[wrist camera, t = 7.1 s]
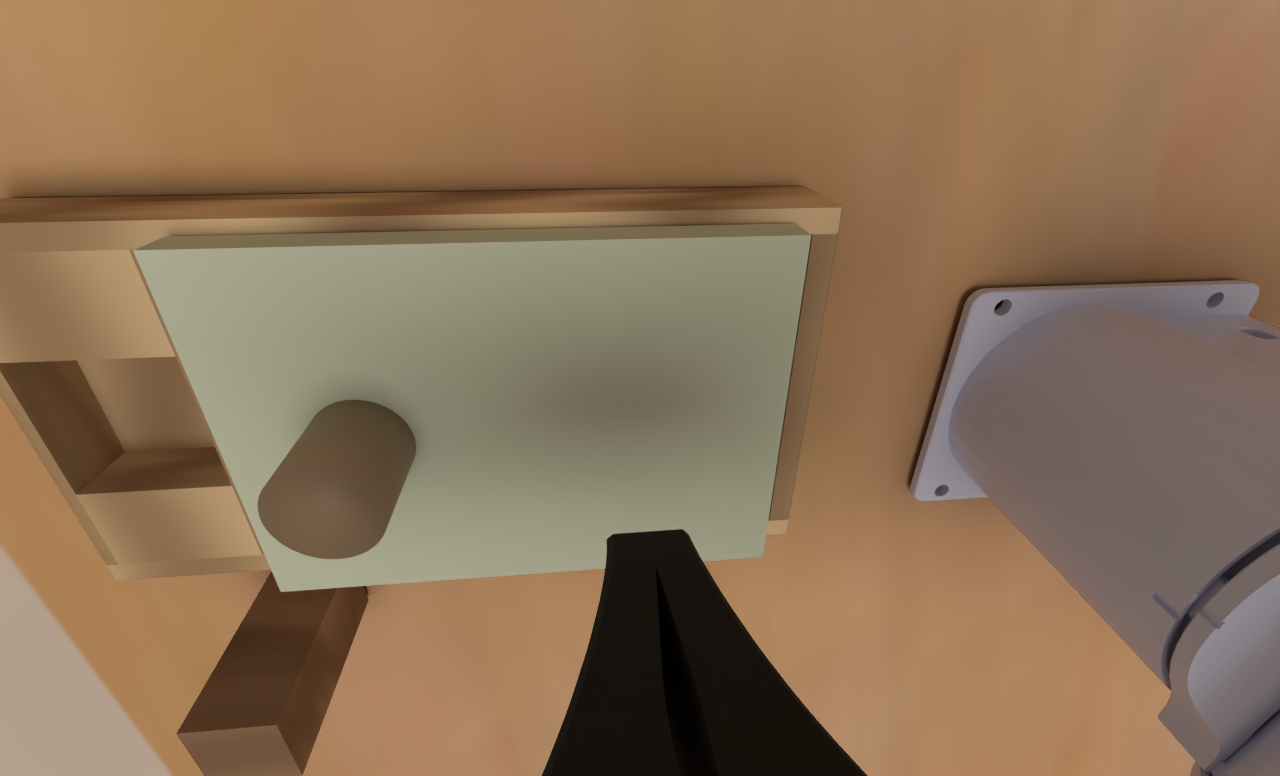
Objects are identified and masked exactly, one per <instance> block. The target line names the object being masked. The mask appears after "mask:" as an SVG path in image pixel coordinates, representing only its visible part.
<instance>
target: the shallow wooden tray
mask: <svg viewBox="0 0 1280 776" xmlns="http://www.w3.org/2000/svg"><path fill="white" fill-rule="evenodd" d="M841 211H842V207H840V206H839V205H837V204H835V203H833V202H831V201H830V200H828V199H826V198H824V197H822V196H821V195H819V194H817V193H815V192H814V191H812V190H810V189H808V188H806V187H805V186H800V187H733V188H665V189H598V190H530V191H463V192H396V193H328V194H261V195H193V196H126V197H58V198H1V199H0V395H1V397H2V398H3V400H4V402H5V403H6V405H7V406H8V408H9V410H10V411H11V413H12V414H13V416H14V418H15V419H16V421H17V422H18V424H19V426H20V427H21V429H22V430H23V432H24V434H25V435H26V437H27V438H28V440H29V442H30V443H31V445H32V446H33V448H34V450H35V451H36V453H37V454H38V456H39V458H40V459H41V461H42V462H43V464H44V466H45V467H46V469H47V470H48V472H49V474H50V475H51V477H52V478H53V480H54V482H55V483H56V485H57V486H58V488H59V490H60V491H61V493H62V494H63V496H64V498H65V499H66V501H67V502H68V504H69V506H70V507H71V509H72V510H73V512H74V514H75V515H76V517H77V518H78V520H79V522H80V523H81V525H82V526H83V528H84V530H85V531H86V533H87V534H88V536H89V538H90V539H91V541H92V542H93V544H94V546H95V547H96V549H97V550H98V552H99V554H100V555H101V557H102V558H103V560H104V562H105V563H106V565H107V566H108V568H109V570H110V571H111V573H112V574H113V576H114V578H115V579H116V581H118V580H132V579H146V578H161V577H175V576H190V575H204V574H218V573H233V572H247V571H262V570H271V568H270V566H269V564H268V561H267V559H266V557H265V554H264V552H263V550H262V548H261V545H260V543H259V541H258V538H257V536H256V534H255V531H254V529H253V527H252V524H251V522H250V520H249V518H248V515H247V513H246V511H245V508H244V506H243V504H242V501H241V499H240V497H239V494H238V492H237V490H236V487H235V485H234V483H233V481H232V478H231V476H230V474H229V471H228V469H227V467H226V464H225V462H224V460H223V457H222V455H221V453H220V450H219V448H218V446H217V444H216V441H215V439H214V437H213V434H212V432H211V430H210V427H209V425H208V423H207V420H206V418H205V416H204V414H203V411H202V409H201V407H200V404H199V402H198V400H197V397H196V395H195V393H194V390H193V388H192V386H191V383H190V381H189V379H188V377H187V374H186V372H185V370H184V367H183V365H182V363H181V360H180V358H179V356H178V353H177V351H176V349H175V347H174V344H173V342H172V340H171V337H170V335H169V333H168V330H167V328H166V326H165V323H164V321H163V319H162V316H161V314H160V312H159V310H158V307H157V305H156V303H155V300H154V298H153V296H152V293H151V291H150V289H149V286H148V284H147V282H146V279H145V277H144V275H143V273H142V270H141V268H140V266H139V263H138V261H137V259H136V256H135V254H134V252H133V250H135V249H137V248H139V247H142V246H144V245H146V244H149V243H151V242H153V241H155V240H158V239H160V238H162V237H164V236H209V235H258V234H306V233H355V232H403V231H452V230H500V229H549V228H597V227H646V226H694V225H743V224H791V223H796V224H797V225H799V226H800V227H801V228H803V229H804V230H805V231H807V232H808V233H809V234H811V241H810V247H809V254H808V261H807V267H806V274H805V281H804V287H803V294H802V300H801V307H800V314H799V320H798V327H797V334H796V340H795V347H794V354H793V360H792V367H791V374H790V380H789V387H788V393H787V400H786V407H785V413H784V420H783V427H782V433H781V440H780V447H779V453H778V460H777V467H776V473H775V480H774V486H773V493H772V500H771V506H770V513H769V520H768V526H767V533H766V535H781V534H786V530H787V524H788V518H789V513H790V507H791V501H792V495H793V489H794V484H795V478H796V472H797V466H798V460H799V455H800V449H801V443H802V437H803V431H804V426H805V420H806V414H807V408H808V403H809V397H810V391H811V385H812V379H813V374H814V368H815V362H816V356H817V350H818V345H819V339H820V333H821V327H822V321H823V316H824V310H825V304H826V298H827V293H828V287H829V281H830V275H831V269H832V264H833V258H834V252H835V246H836V240H837V235H838V229H839V223H840V217H841Z"/></svg>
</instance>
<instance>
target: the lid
mask: <svg viewBox="0 0 1280 776" xmlns="http://www.w3.org/2000/svg"><path fill="white" fill-rule="evenodd" d="M810 241H811V234H809V233H808V232H807V231H805V230H804V229H803V228H801V227H800V226H799V225H797V224H796V223H791V224H743V225H694V226H646V227H597V228H549V229H500V230H452V231H403V232H355V233H306V234H258V235H209V236H164V237H162V238H160V239H158V240H155V241H153V242H151V243H149V244H146V245H144V246H142V247H139V248H137V249H135V250H133V252H134V254H135V256H136V259H137V261H138V263H139V266H140V268H141V270H142V273H143V275H144V277H145V279H146V282H147V284H148V286H149V289H150V291H151V293H152V296H153V298H154V300H155V303H156V305H157V307H158V310H159V312H160V314H161V316H162V319H163V321H164V323H165V326H166V328H167V330H168V333H169V335H170V337H171V340H172V342H173V344H174V347H175V349H176V351H177V353H178V356H179V358H180V360H181V363H182V365H183V367H184V370H185V372H186V374H187V377H188V379H189V381H190V383H191V386H192V388H193V390H194V393H195V395H196V397H197V400H198V402H199V404H200V407H201V409H202V411H203V414H204V416H205V418H206V420H207V423H208V425H209V427H210V430H211V432H212V434H213V437H214V439H215V441H216V444H217V446H218V448H219V450H220V453H221V455H222V457H223V460H224V462H225V464H226V467H227V469H228V471H229V474H230V476H231V478H232V481H233V483H234V485H235V487H236V490H237V492H238V494H239V497H240V499H241V501H242V504H243V506H244V508H245V511H246V513H247V515H248V518H249V520H250V522H251V524H252V527H253V529H254V531H255V534H256V536H257V538H258V541H259V543H260V545H261V548H262V550H263V552H264V554H265V557H266V559H267V561H268V564H269V566H270V568H271V571H272V573H273V575H274V578H275V580H276V582H277V585H278V587H279V589H280V591H281V592H288V591H302V590H316V589H330V588H343V587H357V586H371V585H385V584H398V583H412V582H426V581H440V580H453V579H467V578H481V577H495V576H508V575H522V574H536V573H550V572H563V571H577V570H591V569H605V567H606V556H607V541H606V539H608V538H609V537H610V536H611V535H612V534H619V533H633V532H648V531H662V530H676V529H683V530H684V531H686V532H687V533H688V534H689V536H690V538H691V540H692V542H693V544H694V546H695V548H696V550H697V552H698V554H699V556H700V557H701V559H702V561H715V560H729V559H742V558H756V557H763V553H764V546H765V540H766V533H767V526H768V520H769V513H770V506H771V500H772V493H773V486H774V480H775V473H776V467H777V460H778V453H779V447H780V440H781V433H782V427H783V420H784V413H785V407H786V400H787V393H788V387H789V380H790V374H791V367H792V360H793V354H794V347H795V340H796V334H797V327H798V320H799V314H800V307H801V300H802V294H803V287H804V281H805V274H806V267H807V261H808V254H809V247H810Z"/></svg>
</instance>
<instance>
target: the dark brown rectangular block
mask: <svg viewBox="0 0 1280 776" xmlns="http://www.w3.org/2000/svg"><path fill="white" fill-rule="evenodd" d="M367 602H368V598H367V595H366V591H365V588H364V586H357V587H343V588H330V589H316V590H302V591H288V592H281V591H280V589H279V587H278V585H277V582H276V580H275V578H274V575H273V573H272V571H271V573H270V575H269V577H268V578H267V580H266V582H265V583H264V585H263V587H262V589H261V590H260V592H259V594H258V595H257V597H256V599H255V600H254V602H253V604H252V606H251V607H250V609H249V611H248V612H247V614H246V616H245V618H244V619H243V621H242V623H241V624H240V626H239V628H238V630H237V631H236V633H235V635H234V636H233V638H232V640H231V642H230V643H229V645H228V647H227V648H226V650H225V652H224V653H223V655H222V657H221V659H220V660H219V662H218V664H217V665H216V667H215V669H214V671H213V672H212V674H211V676H210V677H209V679H208V681H207V683H206V684H205V686H204V688H203V689H202V691H201V693H200V695H199V696H198V698H197V700H196V701H195V703H194V705H193V706H192V708H191V710H190V712H189V713H188V715H187V717H186V718H185V720H184V722H183V724H182V725H181V727H180V729H179V730H178V732H177V735H178V737H179V738H180V740H181V741H182V743H183V744H184V746H185V747H186V749H187V750H188V752H189V753H190V755H191V756H192V758H193V759H194V761H195V762H196V764H197V765H198V767H199V768H200V770H201V771H202V773H203V774H204V776H302V775H303V772H304V770H305V767H306V764H307V762H308V759H309V756H310V754H311V751H312V748H313V746H314V743H315V740H316V738H317V735H318V732H319V730H320V727H321V724H322V722H323V719H324V717H325V714H326V711H327V709H328V706H329V703H330V701H331V698H332V695H333V693H334V690H335V687H336V685H337V682H338V679H339V677H340V674H341V671H342V669H343V666H344V663H345V661H346V658H347V655H348V653H349V650H350V647H351V645H352V642H353V639H354V637H355V634H356V631H357V629H358V626H359V624H360V621H361V618H362V616H363V613H364V610H365V608H366V605H367Z"/></svg>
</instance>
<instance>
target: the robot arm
mask: <svg viewBox="0 0 1280 776" xmlns="http://www.w3.org/2000/svg"><path fill="white" fill-rule="evenodd" d="M1258 296H1259V287H1258V286H1257V285H1256V284H1254V283H1251V282H1248V281H1244V280H1228V281H1197V282H1165V283H1134V284H1102V285H1071V286H1039V287H1008V288H984V289H979V290H977V291H975V292H974V293H972V294H971V295H970V296H969V297H968V298H967V301H966V303H965V305H964V308H963V311H962V315H961V318H960V321H959V325H958V328H957V331H956V335H955V338H954V341H953V345H952V348H951V351H950V355H949V358H948V362H947V365H946V368H945V372H944V375H943V378H942V382H941V385H940V388H939V392H938V395H937V398H936V402H935V405H934V408H933V412H932V415H931V418H930V422H929V425H928V429H927V432H926V435H925V439H924V442H923V445H922V449H921V452H920V455H919V459H918V462H917V465H916V469H915V472H914V475H913V479H912V482H911V485H910V491H911V493H912V494H913V496H914V497H915V498H916V499H917V500H919V501H939V500H954V499H969V498H984V497H988V498H989V499H990V500H991V501H992V502H993V503H994V504H995V505H996V506H997V507H998V508H999V509H1000V510H1001V511H1002V512H1003V514H1004V515H1005V516H1006V517H1007V518H1008V519H1009V520H1010V521H1011V522H1012V523H1013V524H1014V525H1015V526H1016V527H1017V528H1018V529H1019V531H1020V532H1021V533H1022V534H1023V535H1024V536H1025V537H1026V538H1027V539H1028V540H1029V541H1030V542H1031V543H1032V544H1033V545H1034V546H1035V547H1036V549H1037V550H1038V551H1039V552H1040V553H1041V554H1042V555H1043V556H1044V557H1045V558H1046V559H1047V560H1048V561H1049V562H1050V563H1051V564H1052V566H1053V567H1054V568H1055V569H1056V570H1057V571H1058V572H1059V573H1060V574H1061V575H1062V576H1063V577H1064V578H1065V579H1066V580H1067V581H1068V582H1069V584H1070V585H1071V586H1072V587H1073V588H1074V589H1075V590H1076V591H1077V592H1078V593H1079V594H1080V595H1081V596H1082V597H1083V598H1084V599H1085V601H1086V602H1087V603H1088V604H1089V605H1090V606H1091V607H1092V608H1093V609H1094V610H1095V611H1096V612H1097V613H1098V614H1099V615H1100V616H1101V617H1102V619H1103V620H1104V621H1105V622H1106V623H1107V624H1108V625H1109V626H1110V627H1111V628H1112V629H1113V630H1114V631H1115V632H1116V633H1117V634H1118V636H1119V637H1120V638H1121V639H1122V640H1123V641H1124V642H1125V643H1126V644H1127V645H1128V646H1129V647H1130V648H1131V649H1132V650H1133V651H1134V652H1135V654H1136V655H1137V656H1138V657H1139V658H1140V659H1141V660H1142V661H1143V662H1144V663H1145V664H1146V665H1147V666H1148V667H1149V668H1150V669H1151V671H1152V672H1153V673H1154V674H1155V675H1156V676H1157V677H1158V678H1159V679H1160V680H1161V681H1162V682H1163V683H1164V684H1165V685H1166V686H1167V687H1168V688H1169V689H1170V690H1171V696H1170V698H1169V700H1168V702H1167V704H1166V706H1165V707H1164V708H1163V709H1162V711H1161V712H1160V713H1159V715H1158V719H1159V720H1160V721H1161V722H1162V723H1163V724H1164V726H1165V727H1166V728H1167V729H1168V730H1169V731H1170V732H1171V733H1172V735H1173V736H1174V737H1175V738H1176V739H1177V740H1178V741H1179V743H1180V744H1181V745H1182V746H1183V747H1184V748H1185V749H1186V750H1187V752H1188V753H1189V754H1190V755H1191V756H1192V757H1193V758H1194V759H1195V761H1196V762H1195V763H1194V765H1193V767H1192V770H1191V774H1190V776H1280V328H1277V327H1275V326H1272V325H1269V324H1267V323H1264V322H1262V321H1259V320H1256V319H1254V318H1251V317H1248V315H1249V313H1250V311H1251V310H1252V308H1253V306H1254V304H1255V302H1256V301H1257V299H1258ZM1001 300H1003V303H1002V305H1001V307H999V308H998V309H997V310H994V308H995V306H996V305H997V303H999V302H1000V301H1001ZM939 486H940V487H939ZM938 487H939V488H938ZM936 488H937V489H936ZM606 541H607V556H606V567H605V575H604V581H603V586H602V592H601V597H600V602H599V606H598V610H597V614H596V618H595V622H594V626H593V630H592V634H591V638H590V642H589V645H588V649H587V652H586V655H585V659H584V662H583V665H582V668H581V671H580V674H579V677H578V680H577V683H576V687H575V690H574V693H573V696H572V699H571V702H570V704H569V707H568V710H567V713H566V716H565V718H564V721H563V724H562V726H561V729H560V732H559V734H558V737H557V739H556V742H555V744H554V747H553V749H552V752H551V755H550V757H549V760H548V762H547V765H546V767H545V769H544V772H543V774H542V776H867V775H866V774H865V773H864V771H863V770H862V769H861V768H860V767H859V766H858V765H857V764H856V763H855V762H854V761H853V760H852V759H851V757H850V756H849V755H848V754H847V753H846V752H845V751H844V750H843V749H842V748H841V747H840V746H839V745H838V743H837V742H836V741H835V740H834V739H833V738H832V737H831V736H830V734H829V733H828V732H827V731H826V730H825V729H824V728H823V726H822V725H821V724H820V723H819V722H818V721H817V720H816V718H815V717H814V716H813V715H812V714H811V713H810V711H809V710H808V709H807V708H806V707H805V705H804V704H803V703H802V702H801V701H800V699H799V698H798V697H797V696H796V695H795V693H794V692H793V691H792V690H791V688H790V687H789V686H788V685H787V683H786V682H785V681H784V680H783V678H782V677H781V676H780V674H779V673H778V672H777V670H776V669H775V668H774V667H773V665H772V664H771V663H770V661H769V660H768V659H767V658H766V656H765V655H764V653H763V652H762V651H761V649H760V648H759V647H758V645H757V644H756V643H755V641H754V640H753V638H752V637H751V636H750V634H749V633H748V631H747V630H746V628H745V627H744V625H743V624H742V622H741V621H740V620H739V618H738V617H737V615H736V614H735V612H734V611H733V609H732V608H731V606H730V605H729V603H728V602H727V600H726V599H725V597H724V596H723V594H722V593H721V591H720V589H719V588H718V586H717V584H716V583H715V581H714V580H713V578H712V576H711V575H710V573H709V571H708V570H707V568H706V566H705V564H704V563H703V561H702V559H701V557H700V556H699V554H698V552H697V550H696V548H695V546H694V544H693V542H692V540H691V538H690V536H689V534H688V533H687V532H686V531H684V530H683V529H676V530H662V531H648V532H633V533H619V534H612V535H611V536H610V537H609V538H608V539H606Z"/></svg>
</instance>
